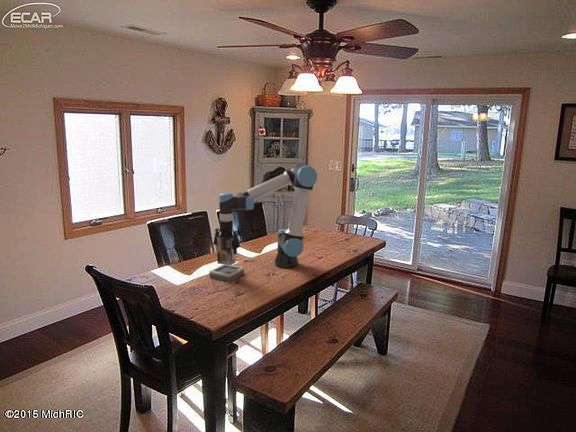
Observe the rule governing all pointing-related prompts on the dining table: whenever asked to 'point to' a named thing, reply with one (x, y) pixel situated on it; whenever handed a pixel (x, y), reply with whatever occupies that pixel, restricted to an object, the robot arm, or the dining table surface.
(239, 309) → the dining table surface
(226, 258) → the coffee box
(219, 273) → the grey square tray
